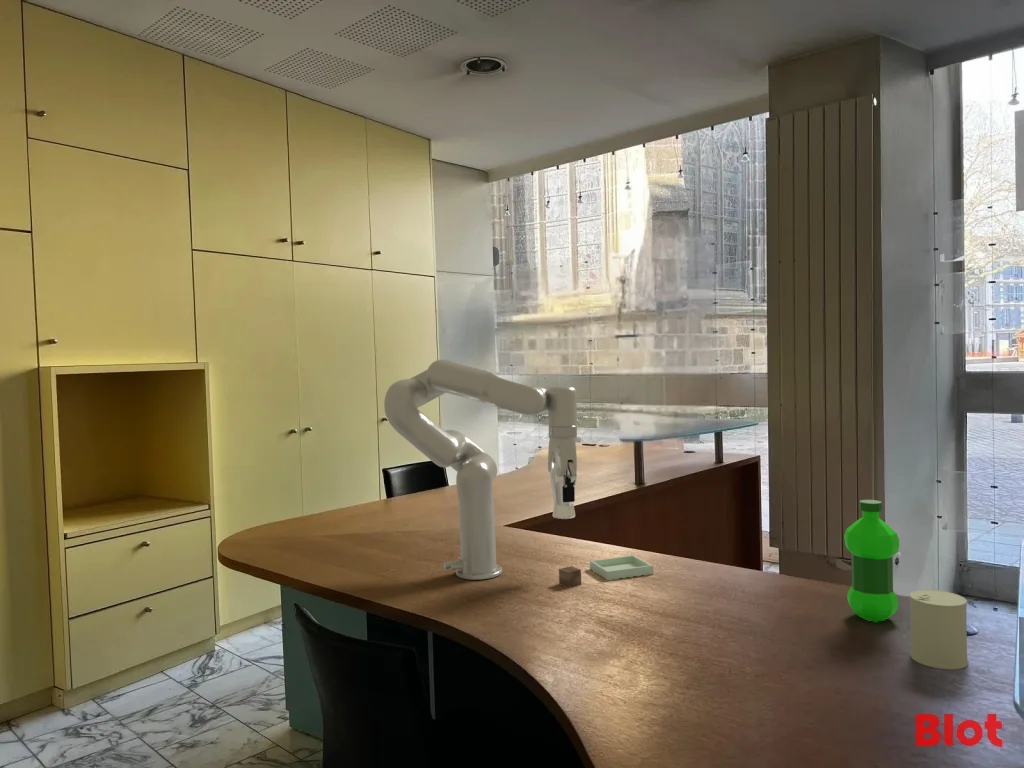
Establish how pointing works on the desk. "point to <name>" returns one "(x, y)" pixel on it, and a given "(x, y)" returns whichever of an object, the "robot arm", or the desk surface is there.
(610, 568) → the tray
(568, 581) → the walnut block
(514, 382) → the robot arm
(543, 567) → the desk surface
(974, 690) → the desk surface
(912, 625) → the can
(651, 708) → the desk surface
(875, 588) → the plastic bottle
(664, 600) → the desk surface
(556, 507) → the beer glass
